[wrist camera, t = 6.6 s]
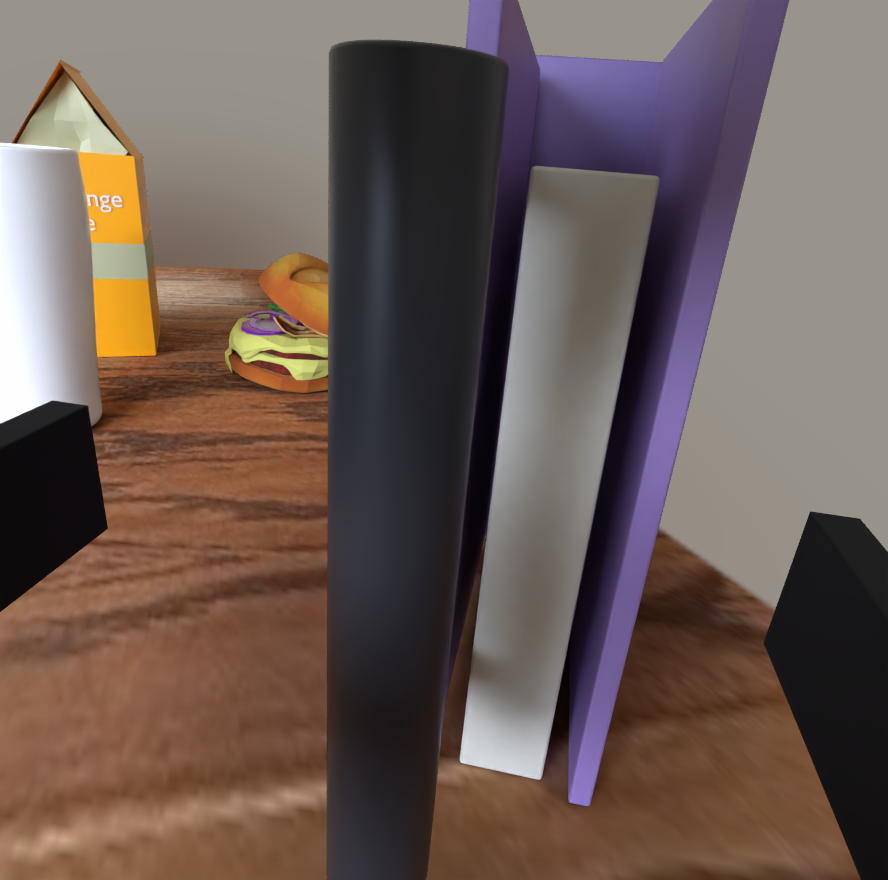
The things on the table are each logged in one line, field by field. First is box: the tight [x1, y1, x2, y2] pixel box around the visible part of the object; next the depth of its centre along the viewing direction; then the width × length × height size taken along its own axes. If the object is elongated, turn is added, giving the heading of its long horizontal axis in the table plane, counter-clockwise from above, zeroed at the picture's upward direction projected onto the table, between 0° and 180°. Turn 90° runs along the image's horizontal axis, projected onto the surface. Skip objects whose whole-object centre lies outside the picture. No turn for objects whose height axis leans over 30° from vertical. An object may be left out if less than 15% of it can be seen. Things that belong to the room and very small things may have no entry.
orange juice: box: [12, 60, 161, 357], centre depth 49 cm, size 8×9×20 cm
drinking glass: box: [0, 143, 102, 427], centre depth 34 cm, size 7×7×15 cm
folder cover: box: [327, 0, 540, 880], centre depth 17 cm, size 2×18×18 cm, turn 169°
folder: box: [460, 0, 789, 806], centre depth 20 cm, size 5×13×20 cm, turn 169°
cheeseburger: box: [225, 253, 328, 393], centre depth 47 cm, size 10×11×10 cm
